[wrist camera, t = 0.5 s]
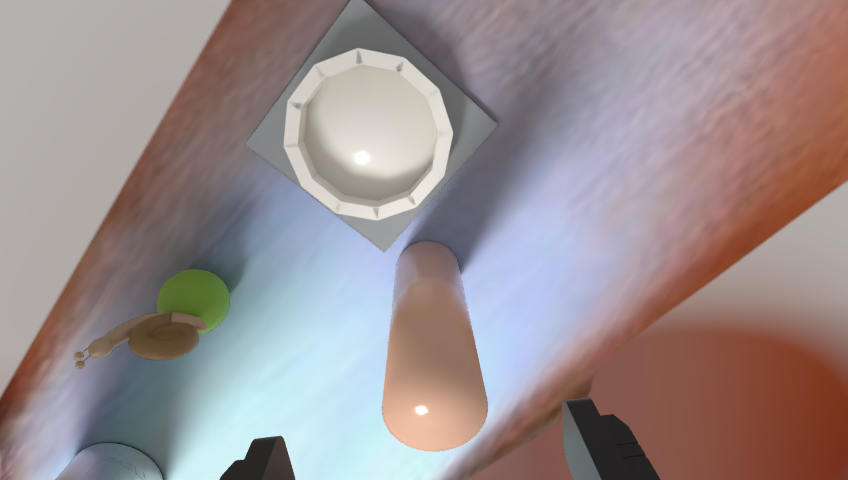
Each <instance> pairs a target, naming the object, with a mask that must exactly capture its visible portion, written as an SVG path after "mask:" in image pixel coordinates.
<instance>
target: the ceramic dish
mask: <svg viewBox="0 0 848 480" xmlns="http://www.w3.org/2000/svg"><path fill="white" fill-rule="evenodd" d="M452 137H453V130H452V127H451V124H450V121H449V118H448V115H447V112H446V109H445V106H444V103H443V99H442V96H441V93H440V90H439V89H438V88H437V87H436V86H435V85H434V84H433V83H432V82H431V81H430V80H429V79H428V78H427V77H425V76H424V75H423V74H422V73H421V72H420V71H419V70H418V69H417V68H416V67H414V66H413V65H412V64H411V63H410V62H409V61H408V60H407V59H406V58H404V57H400V56H395V55H390V54H386V53H381V52H376V51H371V50H366V49H361V48H356V49H354V50H351V51H348V52H346V53H343V54H340V55H338V56H335V57H333V58H330V59H327V60H325V61H322V62H319V63H317V64H314V66H313V67H312V68H311V70H310V71H309V73H308V74H307V75H306V77H305V78H304V79H303V81H302V82H301V83H300V85H299V86H298V87H297V89H296V90H295V91H294V93H293V94H292V95H291V97H290V98H289V100H288V101H287V111H286V122H285V133H284V144H283V146H284V149H285V151H286V153H287V155H288V158H289V160H290V162H291V164H292V166H293V169H294V171H295V173H296V175H297V178H298V180H299V182H300V184H301V187H303V188H304V189H305V190H306V191H308V192H309V193H310V194H312V195H313V196H314V197H315V198H317V199H318V200H319V201H321V202H322V203H323V204H324V205H326V206H327V207H328V208H330V209H331V210H332V211H333V212H335V213H337V214H342V215H348V216H354V217H359V218H365V219H371V220H377V221H378V220H381V219H384V218H386V217H389V216H392V215H395V214H398V213H401V212H404V211H407V210H410V209H413V208H416V207H417V206H418V205H419V204H420V203H421V202H422V201H423V199H424V198H425V197H426V196H427V195H428V194H429V193H430V192H431V190H432V189H433V188H434V187H435V186H436V185H437V184H438V183H439V181H440V180H441V179H442V178H443V177H444V175H445V171H446V166H447V161H448V156H449V151H450V146H451V142H452Z"/></svg>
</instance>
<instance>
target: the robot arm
mask: <svg viewBox="0 0 848 480" xmlns="http://www.w3.org/2000/svg"><path fill="white" fill-rule="evenodd" d="M562 414H563V439H564V450H565V455H566V459H567V463H568V466H569V469H570V472H571V474H572V477H573V479H574V480H660V478H659V476H658V475H657V473H656V471H655V470H654V468H653V467H652V465H651V463H650V461H649V460H648V458H646V456H645V453H644V452H643V450H642V448H641V447H640V445H638V441H637V440H636V438H635V436H634V435H633V433H632V431H631V430H630V428H629V427H628V426H627V425H626V424H625V423H623V422H622V421H621V420H620V419H618V418H617V417H616V416H615V415H613V414H611V415H603V416H600V414H599V413H598V410H597V409H596V407H595V405H594V403H593V401H592V400H591V398H580V399H572V400H564V401H563V403H562ZM55 480H163V477H162V475H161V472H160V470H159V469H158V467H157V466H156V464H155V463H154V462H153V461H152V460H151V459H150V458H149V457H148V456H146V455H145V454H143V453H142V452H140V451H138V450H136V449H134V448H132V447H129V446H125V445H122V444H115V443H100V444H96V445H92V446H89V447H87V448H85V449H83V450H82V451H81V452H79V453H78V454H77V455H76V456H75V457H74V459H73V460H72V461H71V462H70V463H69V464H68V465H67V467H66V468H65V469H64V470H63V471H62V472H61V473H60V475H59V476H58V477H57V478H56V479H55ZM220 480H295V476H294V472H293V469H292V465H291V462H290V458H289V455H288V452H287V448H286V445H285V441H284V439H283V437H282V436H275V437H266V438H258V439H254V440H253V441H252V443H251V445H250V447H249V450H248V452H247V454H246V457H245V459H244V460H237V461H235V462H234V463H233V464H232V465H231V466H230V467H229V468H228V469H227V470H226V471H225V473H224V474H223V475H222V476H221V478H220Z"/></svg>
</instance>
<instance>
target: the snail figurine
mask: <svg viewBox="0 0 848 480" xmlns="http://www.w3.org/2000/svg"><path fill="white" fill-rule="evenodd" d="M229 306H230V295H229V291H228V288H227V286H226V285H225V283H224V282H223V281H222V280H221V279H220V278H219V277H218V276H217V275H215V274H214V273H212V272H209V271H206V270H202V269H189V270H185V271H181V272H179V273H177V274H175V275H173V276H172V277H171V278H169V279H168V280H167V281H166V282H165V283H164V285H163V286H162V288H161V289H160V292H159V294H158V298H157V311H158V313H153V314H146V315H143V316H140V317H137V318H135V319H132V320H130V321H128V322H126V323H124V324H122V325H120V326H118V327H116V328H115V329H113V330H112V331H110V332H109V333H108V334H106V335H105V336H104V337H102V338H99V339H96V340H94V341H93V342H91V344H90V345H89V346H88V348H86V349H85V350H84V351H86V350H87V349H88V353H89V354H90V356H88V357H87V358H89V357H91V356H92V357H95V358H103V357H106V356H108V355H109V354H110V353H111V352H112V351H113V349H114V348H115V347H117V346H119V345H120V344H122V343H124V342H126V341H127V340H128V344H129V347H130V349H131V351H132V352H133V353H135V354H136V355H138V356H139V357H141V358H144V359H149V360H170V359H174V358H178V357H181V356H184V355H186V354H187V353H189V352H191V351H192V350H193V349H194V348H195V347H196V346H197V344H198V342H199V335H201V334H204V333H207V332H209V331H211V330H213V329H214V328H216V327H217V326H218V325H219V324H220V323H221V322H222V321H223V320H224V318H225V317H226V315H227V313H228V310H229ZM84 351H83V352H84ZM83 352H77V353H75V355H74V359H75V360H77V362H76V363H75V368H76V369H82V368H83V367H84V365H85V363H84V361H85V360H86V359H87V358H85V359H84V360H83V361H79V360H81V359H83V357H84V355H83Z"/></svg>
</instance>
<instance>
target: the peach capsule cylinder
mask: <svg viewBox="0 0 848 480" xmlns="http://www.w3.org/2000/svg"><path fill="white" fill-rule="evenodd" d="M487 412H488V402H487V397H486V392H485V387H484V383H483V378H482V373H481V368H480V364H479V359H478V354H477V350H476V345H475V340H474V336H473V331H472V326H471V321H470V317H469V312H468V307H467V303H466V298H465V293H464V288H463V284H462V279H461V274H460V270H459V265H458V261H457V259H456V257H455V255H454V253H453V252H452V251H451V250H450V249H449V248H448V247H446V246H445V245H443V244H441V243H438V242H434V241H421V242H417V243H414V244H412V245H410V246H409V247H408V248H406V249H405V250H404V251H403V252H402V254H401V255H400V257H399V258H398V261H397V264H396V273H395V282H394V292H393V302H392V312H391V322H390V332H389V342H388V352H387V362H386V372H385V382H384V392H383V402H382V415H383V419H384V422H385V425H386V426H387V428H388V430H389V431H390V432H391V434H392V435H393V436H394V437H395V438H396V439H398V440H399V441H400V442H402V443H404V444H405V445H407V446H410V447H412V448H415V449H418V450H423V451H445V450H449V449H453V448H456V447H459V446H461V445H463V444H465V443H466V442H468V441H469V440H471V439H472V438H473V437H474V436H475V435H476V434H477V433H478V432H479V431H480V429H481V428H482V426H483V424H484V423H485V420H486V417H487Z"/></svg>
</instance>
